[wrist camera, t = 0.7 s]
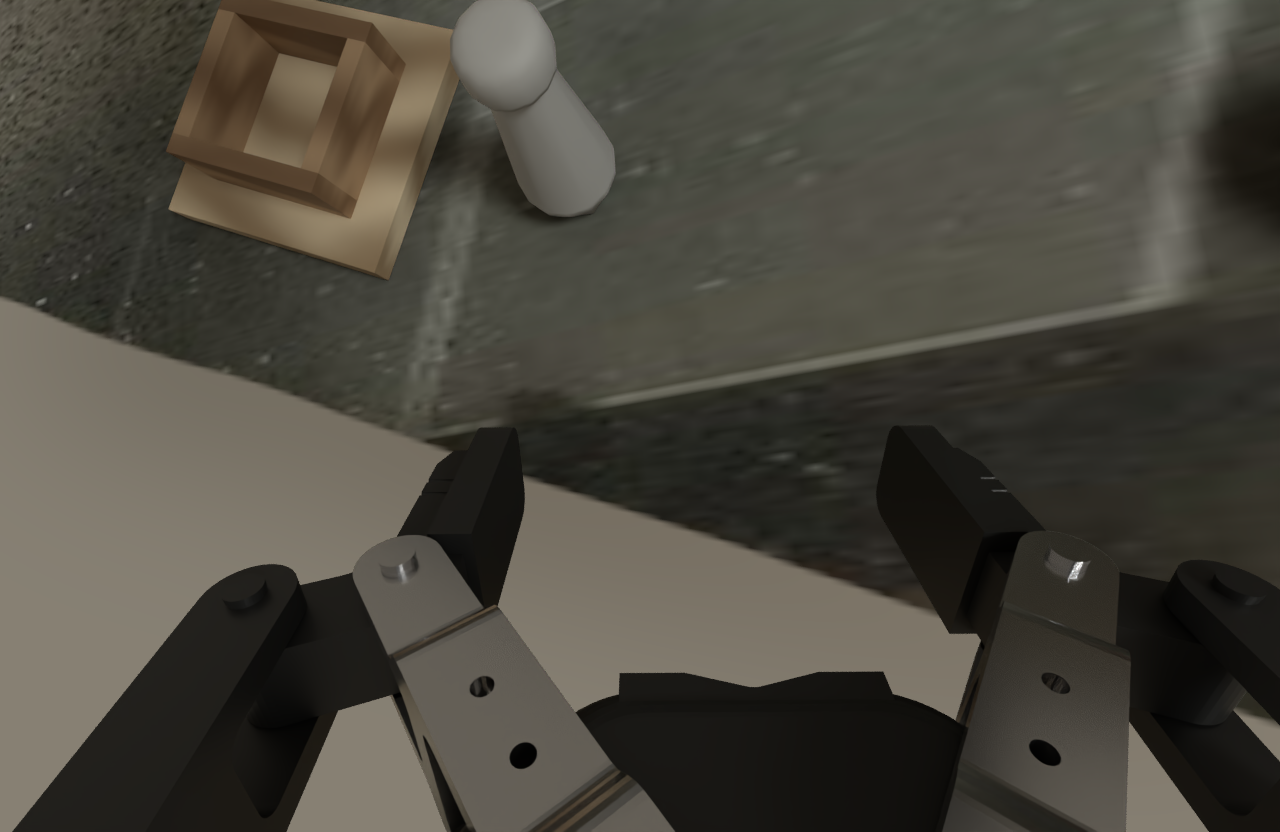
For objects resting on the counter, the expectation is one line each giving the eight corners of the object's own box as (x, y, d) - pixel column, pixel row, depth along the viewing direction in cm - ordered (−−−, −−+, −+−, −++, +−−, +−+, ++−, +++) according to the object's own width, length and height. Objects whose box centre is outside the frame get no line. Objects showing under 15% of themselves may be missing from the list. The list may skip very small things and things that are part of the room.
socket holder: (267, 3, 41) (203, -60, 36) (470, 48, 38) (430, -15, 33) (189, 218, 40) (113, 184, 35) (388, 280, 38) (336, 252, 33)
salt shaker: (524, 226, 36) (409, 95, 24) (539, 138, 37) (435, -38, 24) (615, 235, 35) (547, 103, 23) (630, 144, 36) (572, -36, 23)
